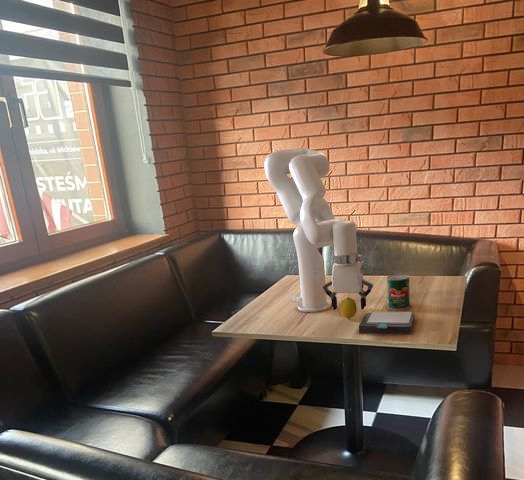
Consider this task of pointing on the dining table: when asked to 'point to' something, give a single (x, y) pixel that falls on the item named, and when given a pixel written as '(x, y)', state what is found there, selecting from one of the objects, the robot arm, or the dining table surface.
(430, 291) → the dining table surface
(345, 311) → the lemon
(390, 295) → the canned tomato
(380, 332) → the scale
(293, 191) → the robot arm
